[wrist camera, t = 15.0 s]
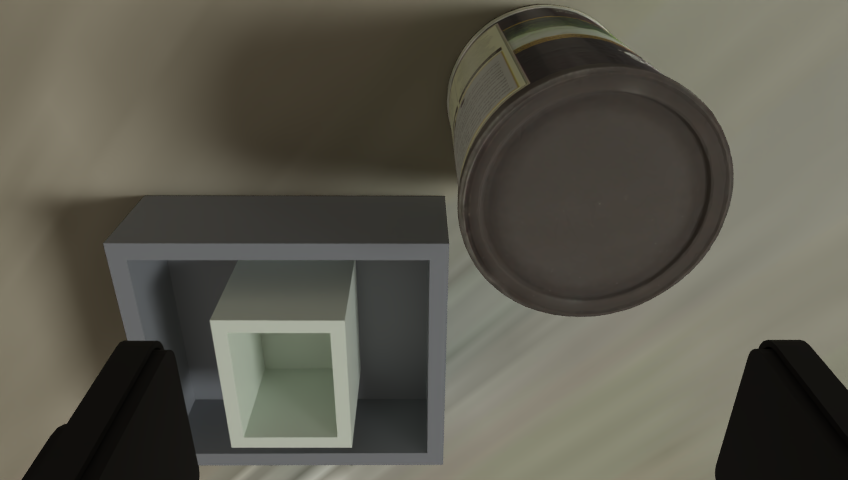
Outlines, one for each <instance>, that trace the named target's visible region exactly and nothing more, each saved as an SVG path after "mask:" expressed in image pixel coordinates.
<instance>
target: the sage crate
mask: <svg viewBox="0 0 848 480" xmlns="http://www.w3.org/2000/svg"><path fill="white" fill-rule="evenodd" d="M210 325H211V331H212V337H213V342H214V348H215V354H216V360H217V366H218V371H219V377H220V383H221V389H222V395H223V400H224V406H225V412H226V418H227V424H228V429H229V435H230V441H231V447H232V448H352V442H353V434H354V425H355V416H356V407H357V398H358V390H359V381H360V372H361V366H360V344H359V322H358V299H357V277H356V260H238V261H237V263H236V266H235V268H234V270H233V272H232V274H231V276H230V278H229V280H228V283H227V285H226V287H225V289H224V291H223V293H222V295H221V297H220V300H219V302H218V304H217V306H216V308H215V310H214V312H213V314H212V317H211V319H210Z"/></svg>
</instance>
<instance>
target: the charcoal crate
mask: <svg viewBox="0 0 848 480" xmlns="http://www.w3.org/2000/svg"><path fill="white" fill-rule="evenodd" d="M103 245H104V249H105V253H106V257H107V261H108V265H109V269H110V273H111V277H112V281H113V285H114V289H115V293H116V297H117V301H118V305H119V309H120V313H121V317H122V321H123V325H124V329H125V333H126V337H127V341H160V342H161V343H162V345H163V347H164V350H172V351H173V352H174V354H175V357H176V362H177V367H178V372H179V376H180V381H181V386H182V390H183V395H184V400H185V405H186V409H187V414H188V419H189V423H190V428H191V433H192V438H193V442H194V447H195V452H196V456H197V461H198V465H443V443H444V407H445V371H446V335H447V299H448V262H449V238H448V227H447V216H446V205H445V196H144V197H143V198H142V199H141V200H140V201H139V203H138V204H137V205H136V206H135V207H134V208H133V210H132V211H131V212H130V213H129V214H128V215H127V216H126V218H125V219H124V220H123V221H122V222H121V223H120V225H119V226H118V227H117V228H116V229H115V230H114V231H113V233H112V234H111V235H110V236H109V237H108V238H107V240H106V241H105V242H104V243H103ZM238 260H356V277H357V299H358V322H359V344H360V366H361V372H360V381H359V390H358V398H357V407H356V416H355V425H354V434H353V442H352V448H232V447H231V441H230V435H229V429H228V424H227V418H226V412H225V406H224V400H223V395H222V389H221V383H220V377H219V371H218V366H217V360H216V354H215V348H214V342H213V337H212V331H211V325H210V319H211V317H212V314H213V312H214V310H215V308H216V306H217V304H218V302H219V300H220V297H221V295H222V293H223V291H224V289H225V287H226V285H227V283H228V280H229V278H230V276H231V274H232V272H233V270H234V268H235V266H236V263H237V261H238Z"/></svg>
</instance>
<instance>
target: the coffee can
mask: <svg viewBox="0 0 848 480" xmlns="http://www.w3.org/2000/svg"><path fill="white" fill-rule="evenodd" d="M447 110H448V118H449V122H450V126H451V131H452V138H453V147H454V156H455V163H456V172H457V180H458V219H459V226H460V231H461V234H462V238H463V241H464V244H465V247H466V249H467V251H468V253H469V255H470V257H471V259H472V261H473V262H474V264H475V266H476V267H477V269H478V270H479V271H480V273H481V274H482V275H483V276H484V277H485V279H486V280H487V281H488V282H489V283H490V284H492V285H493V286H494V287H495V288H496V289H497V290H499V291H500V292H501V293H502V294H504V295H505V296H507V297H508V298H510V299H512V300H513V301H515V302H517V303H519V304H521V305H523V306H525V307H528V308H531V309H534V310H537V311H541V312H545V313H549V314H553V315H561V316H575V317H587V316H600V315H606V314H611V313H615V312H619V311H623V310H627V309H630V308H633V307H635V306H638V305H640V304H642V303H644V302H647V301H649V300H651V299H652V298H654V297H656V296H658V295H660V294H661V293H663V292H664V291H666V290H668V289H669V288H671V287H672V286H673V285H675V284H676V283H678V282H679V281H680V280H681V279H683V278H684V277H685V276H686V275H687V274H689V273H690V272H691V271H692V270H693V269H694V267H695V266H696V265H697V264H698V263H699V262H700V261H701V260H702V259H703V258H704V256H705V255H706V253H707V252H708V251H709V250H710V248H711V246H712V244H713V243H714V241H715V239H716V238H717V236H718V234H719V232H720V230H721V228H722V226H723V223H724V220H725V218H726V215H727V212H728V209H729V206H730V201H731V197H732V191H733V163H732V157H731V154H730V149H729V145H728V143H727V140H726V137H725V135H724V132H723V130H722V128H721V126H720V124H719V123H718V121H717V119H716V118H715V116H714V114H713V113H712V111H711V110H710V109H709V108H708V107H707V106H706V105H705V104H704V103H703V102H702V101H701V100H700V99H699V98H698V97H697V96H696V95H695V94H693V93H692V92H691V91H690V90H688V89H687V88H685V87H684V86H682V85H681V84H679V83H678V82H676V81H674V80H672V79H670V78H668V77H666V76H664V75H663V74H662V73H660V72H659V71H658V70H657V69H655V68H654V67H653V66H652V65H650V64H649V63H648V62H646V61H645V60H643V59H642V58H641V57H639V56H638V55H637V54H635V53H634V52H633V51H632V50H630V49H629V48H628V47H626V46H625V45H624V44H622V43H621V42H620V41H618V40H617V39H616V38H615V37H614V36H612V35H611V34H610V33H609V32H608V31H607V30H606V29H605V28H604V27H603V26H602V25H601V24H600V23H598V22H597V21H596V20H594V19H593V18H591V17H590V16H588V15H586V14H584V13H582V12H580V11H577V10H574V9H572V8H569V7H564V6H558V5H533V6H528V7H523V8H519V9H516V10H513V11H511V12H508V13H506V14H503V15H501V16H500V17H498V18H496V19H494V20H492V21H491V22H489V23H488V24H487V25H485V26H484V27H483V28H482V29H481V30H480V31H478V32H477V33H476V34H475V35H474V36H473V37H472V39H471V40H470V41H469V42H468V44H467V45H466V46H465V48H464V49H463V50H462V52H461V54H460V56H459V58H458V59H457V61H456V63H455V66H454V68H453V71H452V74H451V77H450V79H449V85H448V93H447Z"/></svg>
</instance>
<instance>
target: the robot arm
mask: <svg viewBox="0 0 848 480" xmlns="http://www.w3.org/2000/svg"><path fill="white" fill-rule="evenodd" d="M715 478H716V480H848V390H847V389H846V388H845V386H844V385H843V384H842V383H841V382H840V381H839V379H838V378H837V377H836V376H835V375H834V374H833V372H832V371H831V370H830V369H829V368H828V366H827V365H826V364H825V363H824V362H823V361H822V359H821V358H820V357H819V356H818V355H817V354H816V352H815V351H814V350H813V349H812V348H811V346H810V345H809V344H807V343H806V342H805V341H802V340H766V341H763V342H762V343H761V344H760V346H759V349H754V350H752V351H751V352H750V354H749V356H748V359H747V362H746V366H745V369H744V373H743V376H742V379H741V383H740V386H739V389H738V393H737V396H736V400H735V403H734V406H733V410H732V413H731V416H730V420H729V423H728V427H727V430H726V433H725V437H724V440H723V444H722V447H721V450H720V454H719V457H718V460H717V464H716V468H715ZM22 480H199V466H198V461H197V456H196V452H195V447H194V442H193V438H192V433H191V428H190V423H189V419H188V414H187V409H186V405H185V400H184V395H183V390H182V386H181V381H180V376H179V372H178V367H177V362H176V357H175V354H174V352H173V351H172V350H164V347H163V345H162V343H161V342H160V341H122V342H120V343H119V344H118V346H117V347H116V348H115V350H114V352H113V353H112V355H111V356H110V358H109V359H108V361H107V362H106V364H105V365H104V367H103V369H102V370H101V372H100V373H99V375H98V376H97V378H96V379H95V381H94V383H93V384H92V386H91V387H90V389H89V390H88V392H87V393H86V395H85V397H84V398H83V400H82V401H81V403H80V404H79V406H78V407H77V409H76V410H75V412H74V414H73V415H72V417H71V418H70V420H69V421H68V423H67V424H64V425H62V426H60V427H58V428H57V429H56V430H55V431H54V433H53V434H52V435H51V436H50V438H49V439H48V441H47V442H46V444H45V445H44V447H43V448H42V450H41V451H40V453H39V454H38V456H37V457H36V459H35V460H34V462H33V463H32V465H31V466H30V468H29V469H28V471H27V472H26V474H25V475H24V477H23V478H22Z"/></svg>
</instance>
